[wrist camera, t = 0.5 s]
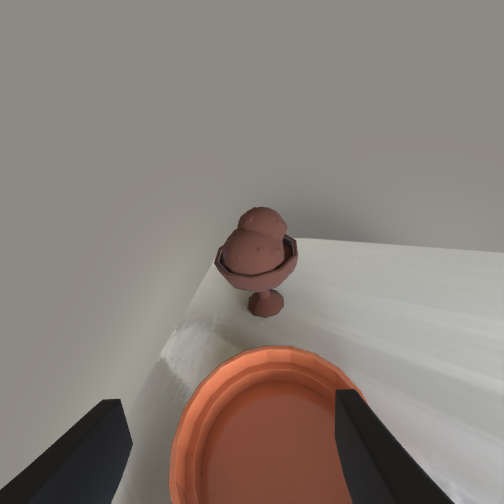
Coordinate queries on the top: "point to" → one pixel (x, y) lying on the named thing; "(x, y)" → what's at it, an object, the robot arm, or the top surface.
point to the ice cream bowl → (259, 259)
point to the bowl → (261, 432)
